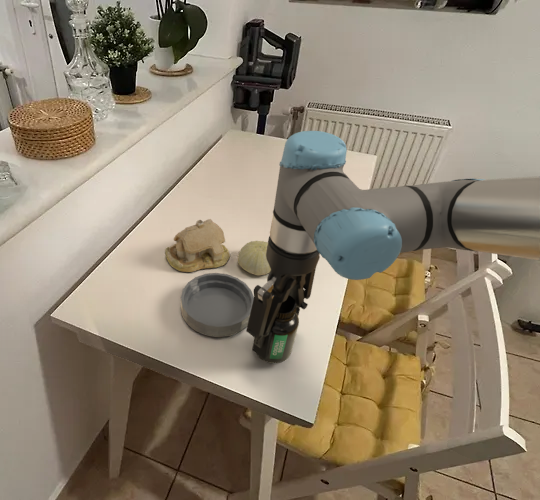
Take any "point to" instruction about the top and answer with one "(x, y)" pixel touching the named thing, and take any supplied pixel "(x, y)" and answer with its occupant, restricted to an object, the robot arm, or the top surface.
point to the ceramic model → (198, 247)
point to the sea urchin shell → (254, 258)
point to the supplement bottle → (283, 332)
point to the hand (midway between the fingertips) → (273, 341)
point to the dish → (216, 304)
